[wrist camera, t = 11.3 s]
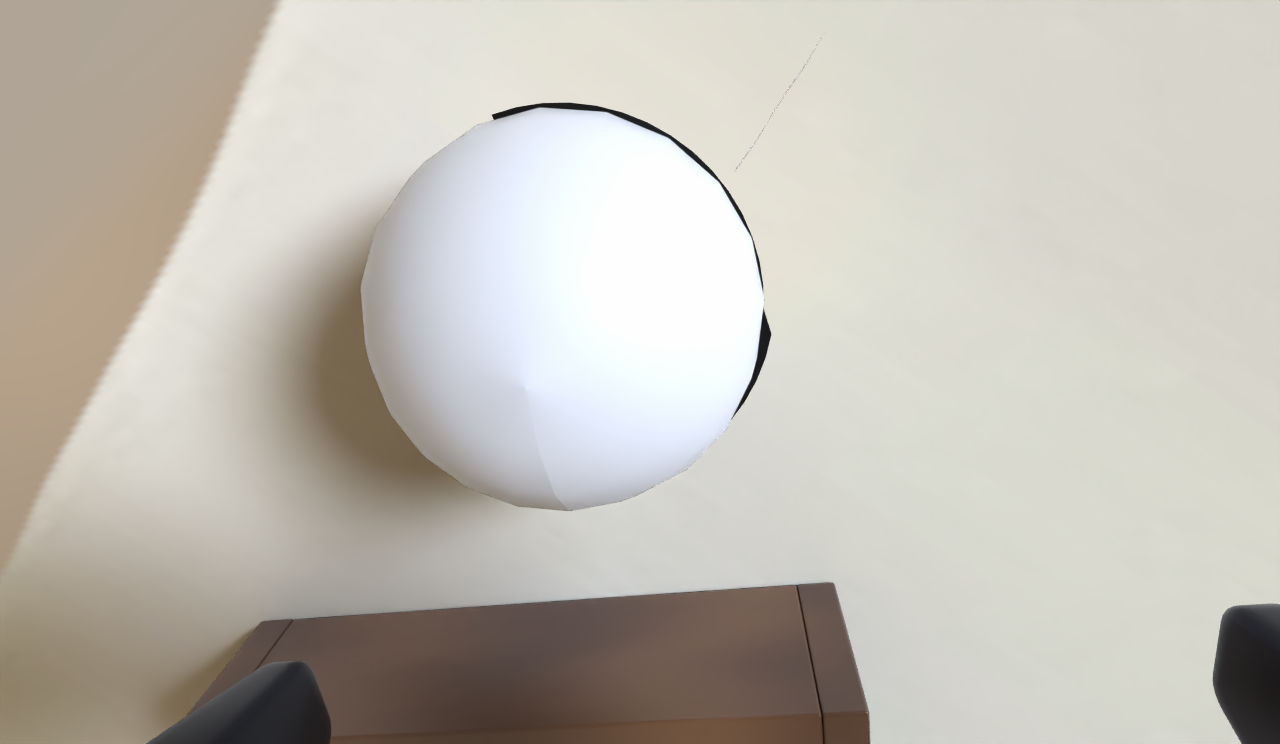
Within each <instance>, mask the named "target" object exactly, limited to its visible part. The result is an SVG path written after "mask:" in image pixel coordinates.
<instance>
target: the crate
mask: <svg viewBox="0 0 1280 744" xmlns="http://www.w3.org/2000/svg"><path fill="white" fill-rule="evenodd" d="M288 661H302V662H306V663H307V664H308V665H309V666H310V667H311V668H312V670H313V672H314V675H315V677H316V680H317V683H318V686H319V689H320V691H321V694H322V697H323V700H324V702H325V705H326V708H327V711H328V713H329V716H330V720H331V738H330V743H329V744H870V721H869V710H868V706H867V703H866V699H865V695H864V691H863V688H862V684H861V680H860V677H859V673H858V669H857V666H856V662H855V658H854V654H853V651H852V647H851V643H850V640H849V636H848V632H847V628H846V625H845V621H844V617H843V614H842V610H841V606H840V602H839V599H838V595H837V591H836V588H835V585H834V583H819V584H804V585H798V587H796V586H795V585H790V586H775V587H761V588H746V589H732V590H717V591H702V592H688V593H673V594H659V595H644V596H630V597H615V598H601V599H586V600H571V601H557V602H542V603H528V604H513V605H499V606H484V607H470V608H455V609H440V610H426V611H411V612H397V613H382V614H368V615H353V616H338V617H324V618H309V619H296V620H294V621H293V620H292V619H289V620H275V621H263V622H261V623H260V625H259V626H258V627H257V628H256V630H255V631H254V632H253V633H252V635H251V636H250V637H249V638H248V640H247V641H246V642H245V643H244V645H243V646H242V647H241V648H240V650H239V651H238V652H237V653H236V655H235V656H234V657H233V658H232V660H231V661H230V662H229V663H228V665H227V666H226V667H225V668H224V670H223V671H222V672H221V673H220V675H219V676H218V677H217V678H216V680H215V681H214V682H213V683H212V685H211V686H210V687H209V688H208V690H207V691H206V692H205V693H204V694H203V696H202V697H201V698H200V699H199V701H198V702H197V703H196V704H195V706H194V707H193V708H192V709H191V711H190V712H189V713H188V714H187V716H188V715H190V714H191V713H193V712H194V711H196V710H197V709H199V708H200V707H202V706H203V705H205V704H206V703H208V702H209V701H211V700H212V699H214V698H215V697H217V696H218V695H220V694H221V693H223V692H224V691H226V690H227V689H229V688H230V687H232V686H233V685H235V684H236V683H238V682H239V681H241V680H242V679H244V678H245V677H247V676H248V675H250V674H251V673H253V672H254V671H256V670H257V669H259V668H260V667H262V666H264V665H266V664H269V663H273V662H288ZM187 716H186V717H187Z"/></svg>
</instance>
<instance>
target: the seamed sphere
mask: <svg viewBox="0 0 1280 744" xmlns="http://www.w3.org/2000/svg"><path fill="white" fill-rule="evenodd" d="M823 34H824V33H823ZM822 36H823V35H822ZM821 38H822V37H821ZM819 41H820V40H819ZM818 43H819V42H818ZM817 45H818V44H817ZM815 48H816V47H815ZM814 50H815V49H814ZM813 52H814V51H813ZM811 55H812V54H811ZM810 57H811V56H810ZM809 59H810V58H809ZM807 62H808V61H807ZM806 64H807V63H806ZM806 64H805V65H806ZM804 67H805V66H804ZM804 67H803V68H804ZM802 70H803V69H802ZM802 70H801V71H802ZM800 73H801V72H800ZM800 73H799V74H800ZM798 76H799V75H798ZM798 76H797V77H798ZM797 77H796V79H797ZM796 79H795V80H796ZM795 80H794V81H795ZM793 83H794V82H793ZM793 83H792V84H793ZM792 84H791V86H792ZM791 86H790V87H791ZM790 87H789V89H790ZM789 89H788V90H789ZM788 90H787V91H788ZM786 93H787V92H786ZM786 93H785V94H786ZM784 96H785V95H784ZM784 96H783V97H784ZM782 99H783V98H782ZM782 99H781V100H782ZM780 102H781V101H780ZM780 102H779V103H780ZM778 105H779V104H778ZM778 105H777V106H778ZM776 108H777V107H776ZM776 108H775V109H776ZM774 111H775V110H774ZM773 113H774V112H773ZM773 113H772V114H773ZM492 116H493V119H494V120H492V121H489V122H485V123H482V124H478V125H476V126H474V127H473V128H472V129H470V130H469V131H467V132H466V133H465V134H463V135H462V136H460V137H459V138H458V139H456V140H455V141H453V142H452V143H451V144H449V145H448V146H446V147H445V148H444V149H442V150H441V151H439V152H438V153H437V154H435V155H434V156H432V157H431V158H430V159H428V160H427V161H425V162H424V163H423V165H422V166H421V167H420V168H419V169H418V170H417V171H416V172H415V173H414V174H413V175H412V176H411V177H410V178H409V179H408V181H407V182H406V184H405V185H404V187H403V188H402V190H401V191H400V193H399V194H398V196H397V197H396V199H395V200H394V202H393V203H392V204H391V206H390V207H389V209H388V210H387V212H386V213H385V215H384V216H383V218H382V219H381V221H380V222H379V224H378V225H377V227H376V228H375V232H374V236H373V239H372V243H371V247H370V251H369V255H368V259H367V263H366V267H365V271H364V275H363V279H362V283H361V299H362V312H363V324H364V337H365V347H366V351H367V355H368V359H369V363H370V366H371V368H372V371H373V373H374V376H375V378H376V381H377V383H378V386H379V388H380V391H381V393H382V395H383V398H384V400H385V403H386V405H387V408H388V410H389V413H390V415H391V416H392V417H393V418H394V420H395V421H396V422H397V423H398V425H399V426H400V427H401V428H402V430H403V431H404V432H405V433H406V435H407V436H408V437H409V438H410V440H411V441H412V442H413V443H414V445H415V446H416V447H417V448H418V450H419V451H420V452H421V453H422V455H423V456H424V457H426V458H427V459H428V460H430V461H431V462H433V463H434V464H435V465H437V466H438V467H439V468H441V469H442V470H444V471H445V472H446V473H448V474H449V475H451V476H452V477H453V478H455V479H456V480H457V481H459V482H460V483H462V484H463V485H464V486H466V487H467V488H470V489H472V490H475V491H478V492H480V493H483V494H486V495H488V496H491V497H494V498H496V499H499V500H502V501H504V502H507V503H510V504H512V505H515V506H519V507H530V508H541V509H552V510H563V511H573V510H578V509H583V508H589V507H594V506H599V505H605V504H610V503H616V502H621V501H623V500H626V499H629V498H631V497H634V496H637V495H639V494H641V493H643V492H644V491H646V490H648V489H650V488H652V487H654V486H656V485H658V484H660V483H662V482H664V481H666V480H668V479H670V478H671V477H673V476H675V475H677V474H679V473H681V472H683V471H685V470H687V469H688V468H689V467H690V466H691V465H692V464H693V463H694V462H695V461H696V460H697V459H698V458H699V457H700V456H701V455H702V454H703V453H704V452H705V451H706V450H707V449H708V448H709V447H710V446H711V445H712V444H713V443H714V442H715V441H716V440H717V438H718V437H719V436H720V435H721V434H722V433H723V432H724V431H725V430H726V429H727V427H728V425H729V423H730V421H731V419H732V418H733V417H734V415H735V414H736V413H737V411H738V410H739V409H740V407H741V406H742V404H743V403H744V402H745V400H746V398H747V397H748V395H749V393H750V391H751V389H752V388H753V386H754V384H755V382H756V380H757V378H758V375H759V373H760V370H761V368H762V365H763V363H764V360H765V357H766V354H767V350H768V346H769V342H770V338H771V331H770V328H769V325H768V322H767V318H766V315H765V312H764V295H763V281H762V275H761V268H760V262H759V258H758V255H757V251H756V248H755V244H754V241H753V238H752V235H751V233H750V230H749V228H748V226H747V224H746V221H745V219H744V217H743V215H742V213H741V211H740V209H739V208H738V206H737V204H736V203H735V201H734V199H733V198H732V196H731V194H730V193H729V191H728V190H727V189H726V187H725V186H724V185H723V184H722V182H721V181H720V180H719V179H718V177H717V176H716V175H715V174H714V172H713V171H712V170H711V169H710V168H709V167H708V166H707V165H706V164H705V163H704V162H703V161H702V160H701V159H700V158H699V157H698V156H697V155H695V154H694V153H693V152H692V151H691V150H690V149H688V148H687V147H686V146H684V145H683V144H682V143H680V142H679V141H677V140H676V139H675V138H673V137H672V136H671V135H669V134H667V133H665V132H663V131H662V130H660V129H658V128H656V127H655V126H653V125H651V124H649V123H647V122H645V121H642V120H640V119H637V118H635V117H632V116H630V115H627V114H625V113H622V112H618V111H614V110H610V109H607V108H603V107H599V106H593V105H585V104H576V103H541V104H534V105H528V106H521V107H516V108H513V109H509V110H506V111H503V112H499V113H496V114H493V115H492ZM771 116H772V115H771ZM769 119H770V118H769ZM768 121H769V120H768ZM767 123H768V122H767ZM765 126H766V125H765ZM764 128H765V127H764ZM762 131H763V130H762ZM761 133H762V132H761ZM759 136H760V135H759ZM758 138H759V137H758ZM758 138H757V139H758ZM756 141H757V140H756ZM756 141H755V142H756ZM754 144H755V143H754ZM754 144H753V145H754ZM752 147H753V146H752ZM752 147H751V148H752ZM751 148H750V150H751ZM750 150H749V151H750ZM749 151H748V152H749ZM747 154H748V153H747ZM747 154H746V155H747ZM746 155H745V157H746ZM745 157H744V158H745ZM744 158H743V159H744ZM742 161H743V160H742ZM742 161H741V162H742ZM741 162H740V164H741ZM740 164H739V165H740ZM739 165H738V166H739ZM737 168H738V167H737ZM737 168H736V169H737ZM735 171H736V170H735Z"/></svg>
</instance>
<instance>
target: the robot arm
mask: <svg viewBox="0 0 1280 744" xmlns="http://www.w3.org/2000/svg"><path fill="white" fill-rule="evenodd" d="M1213 686H1214V690H1215V694H1216V697H1217V699H1218V702H1219V704H1220V706H1221V708H1222V710H1223V712H1224V713H1225V715H1226V717H1227V719H1228V720H1229V722H1230V724H1231V726H1232V728H1233V729H1234V731H1235V733H1236V735H1237V736H1238V738H1239V740H1240V742H1241V743H1242V744H1280V605H1279V604H1257V605H1240V606H1233V607H1231V608H1229V609H1227V610H1226V611H1225V613H1224V614H1223V616H1222V620H1221V624H1220V631H1219V638H1218V644H1217V651H1216V657H1215V664H1214V670H1213ZM330 738H331V720H330V716H329V713H328V711H327V708H326V705H325V702H324V700H323V697H322V694H321V691H320V689H319V686H318V683H317V680H316V677H315V675H314V672H313V670H312V668H311V667H310V666H309V665H308V664H307V663H306V662H302V661H288V662H273V663H269V664H266V665H264V666H262V667H260V668H259V669H257V670H256V671H254V672H253V673H251V674H250V675H248V676H247V677H245V678H244V679H242V680H241V681H239V682H238V683H236V684H235V685H233V686H232V687H230V688H229V689H227V690H226V691H224V692H223V693H221V694H220V695H218V696H217V697H215V698H214V699H212V700H211V701H209V702H208V703H206V704H205V705H203V706H202V707H200V708H199V709H197V710H196V711H194V712H193V713H191V714H190V715H188V716H187V717H185V718H184V719H182V720H181V721H179V722H178V723H176V724H175V725H173V726H172V727H170V728H169V729H167V730H166V731H164V732H163V733H161V734H160V735H158V736H157V737H155V738H154V739H152V740H151V741H149V742H148V743H146V744H329V743H330Z"/></svg>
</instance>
